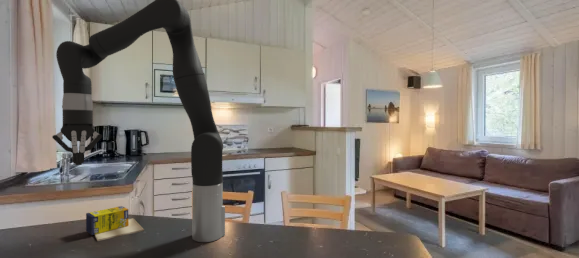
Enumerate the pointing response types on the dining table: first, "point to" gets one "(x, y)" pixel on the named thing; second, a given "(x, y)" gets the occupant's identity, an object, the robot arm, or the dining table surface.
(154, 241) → the dining table surface
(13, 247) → the dining table surface
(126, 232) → the birch board
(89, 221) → the supplement box
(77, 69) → the robot arm
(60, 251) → the dining table surface
